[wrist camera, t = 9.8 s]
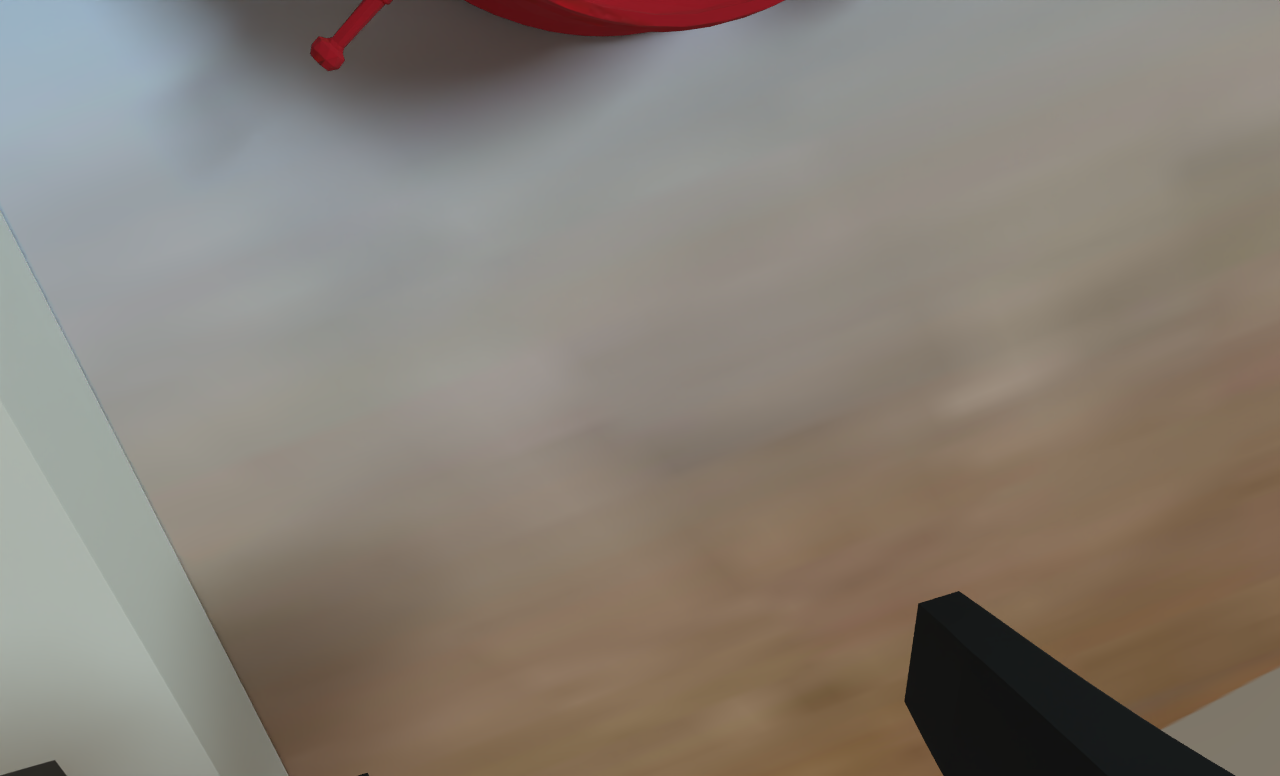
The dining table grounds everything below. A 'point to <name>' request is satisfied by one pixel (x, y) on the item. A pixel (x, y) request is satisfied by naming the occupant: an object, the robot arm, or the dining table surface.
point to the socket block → (96, 587)
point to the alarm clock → (568, 18)
